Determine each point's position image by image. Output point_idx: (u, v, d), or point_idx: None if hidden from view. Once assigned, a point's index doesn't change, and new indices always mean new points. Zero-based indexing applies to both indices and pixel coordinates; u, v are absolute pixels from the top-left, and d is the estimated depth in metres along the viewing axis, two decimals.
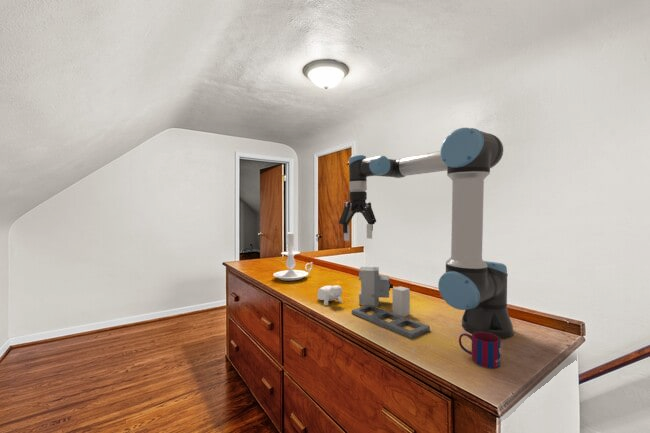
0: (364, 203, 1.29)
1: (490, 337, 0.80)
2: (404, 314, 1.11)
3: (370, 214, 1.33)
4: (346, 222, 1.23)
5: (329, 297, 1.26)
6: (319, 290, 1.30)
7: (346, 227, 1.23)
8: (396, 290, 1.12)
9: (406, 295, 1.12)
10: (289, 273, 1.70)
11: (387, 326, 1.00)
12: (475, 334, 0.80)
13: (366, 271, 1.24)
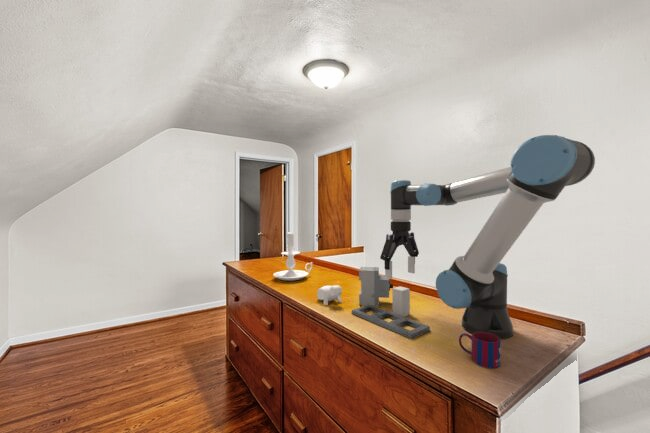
0: (407, 234, 1.14)
1: (490, 337, 0.80)
2: (404, 314, 1.11)
3: (412, 245, 1.17)
4: (389, 257, 1.08)
5: (329, 297, 1.26)
6: (319, 290, 1.30)
7: (388, 263, 1.08)
8: (396, 290, 1.12)
9: (406, 295, 1.12)
10: (289, 273, 1.70)
11: (387, 326, 1.00)
12: (475, 334, 0.80)
13: (366, 271, 1.24)
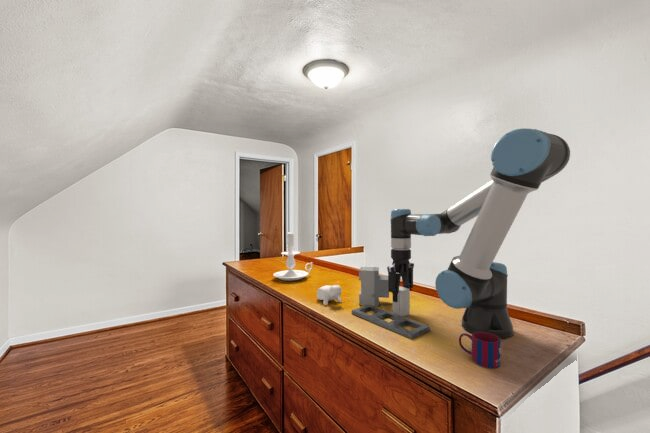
0: (408, 261, 1.14)
1: (490, 337, 0.80)
2: (404, 314, 1.11)
3: (409, 277, 1.16)
4: (396, 291, 1.10)
5: (328, 297, 1.26)
6: (318, 290, 1.30)
7: (396, 295, 1.11)
8: None
9: (406, 295, 1.12)
10: (289, 273, 1.70)
11: (387, 326, 1.00)
12: (475, 334, 0.80)
13: (366, 271, 1.24)
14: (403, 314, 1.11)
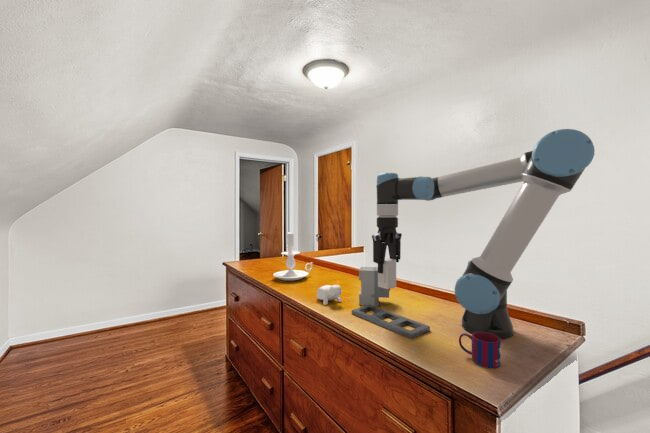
0: (395, 230, 1.06)
1: (491, 337, 0.80)
2: (390, 286, 1.04)
3: (396, 247, 1.08)
4: (381, 261, 1.02)
5: (328, 297, 1.26)
6: (318, 290, 1.30)
7: (382, 266, 1.03)
8: None
9: (392, 266, 1.04)
10: (289, 273, 1.70)
11: (387, 326, 1.00)
12: (475, 334, 0.80)
13: (366, 271, 1.24)
14: (389, 286, 1.03)
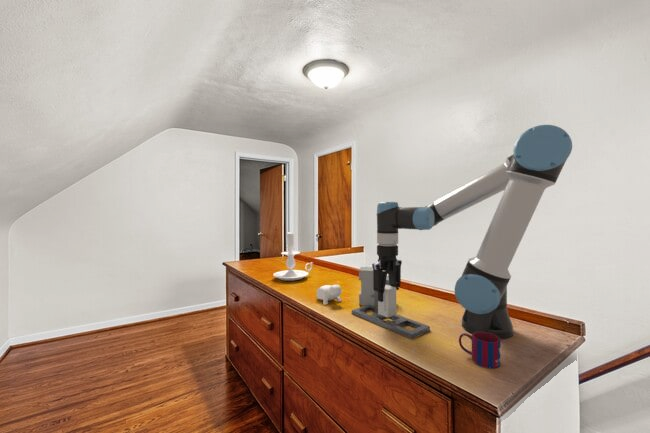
0: (395, 258, 1.07)
1: (491, 337, 0.80)
2: (390, 314, 1.04)
3: (396, 275, 1.08)
4: (382, 290, 1.03)
5: (328, 296, 1.27)
6: (318, 289, 1.31)
7: (382, 295, 1.03)
8: None
9: (392, 294, 1.04)
10: (289, 273, 1.70)
11: (387, 326, 1.00)
12: (475, 334, 0.80)
13: (366, 271, 1.24)
14: (389, 315, 1.04)
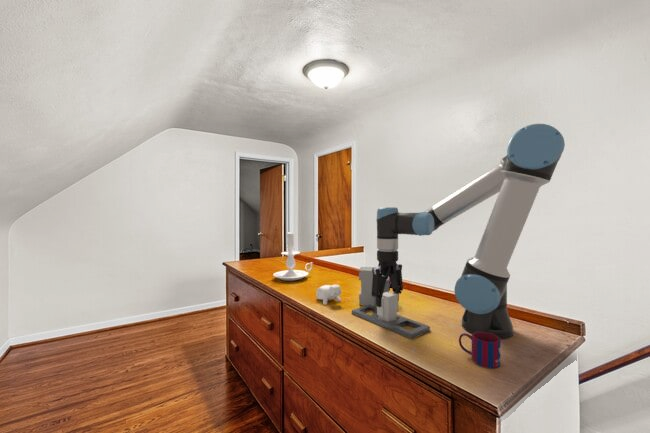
0: (395, 263, 1.07)
1: (490, 337, 0.80)
2: None
3: (398, 279, 1.09)
4: (380, 295, 1.02)
5: (328, 296, 1.27)
6: (318, 289, 1.31)
7: (380, 300, 1.03)
8: (382, 296, 1.05)
9: (393, 302, 1.04)
10: (289, 273, 1.70)
11: (387, 326, 1.00)
12: (475, 334, 0.80)
13: (366, 271, 1.24)
14: None
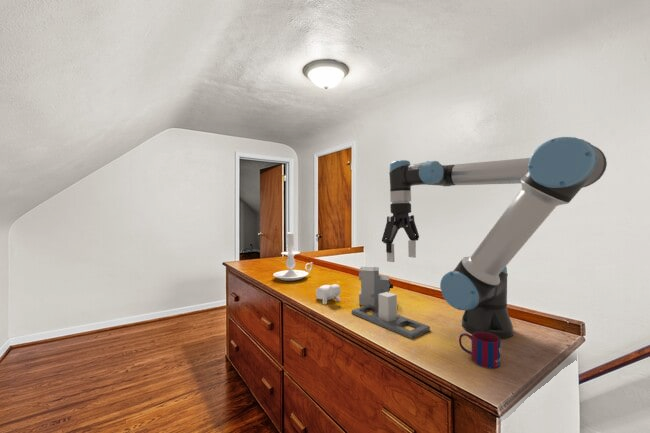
0: (407, 216, 1.10)
1: (490, 337, 0.80)
2: None
3: (412, 229, 1.14)
4: (391, 240, 1.03)
5: (328, 296, 1.27)
6: (318, 289, 1.31)
7: (390, 246, 1.04)
8: (382, 296, 1.05)
9: (393, 302, 1.04)
10: (289, 273, 1.70)
11: (387, 326, 1.00)
12: (475, 334, 0.80)
13: (366, 271, 1.24)
14: None
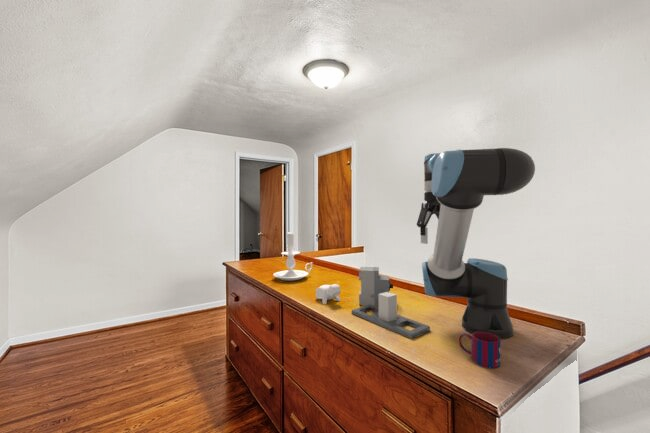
0: (439, 204, 1.23)
1: (490, 337, 0.80)
2: None
3: None
4: (425, 224, 1.17)
5: (327, 296, 1.27)
6: (317, 289, 1.31)
7: (424, 229, 1.17)
8: (382, 296, 1.05)
9: (393, 302, 1.04)
10: (289, 273, 1.70)
11: (387, 326, 1.00)
12: (475, 334, 0.80)
13: (366, 271, 1.24)
14: None
